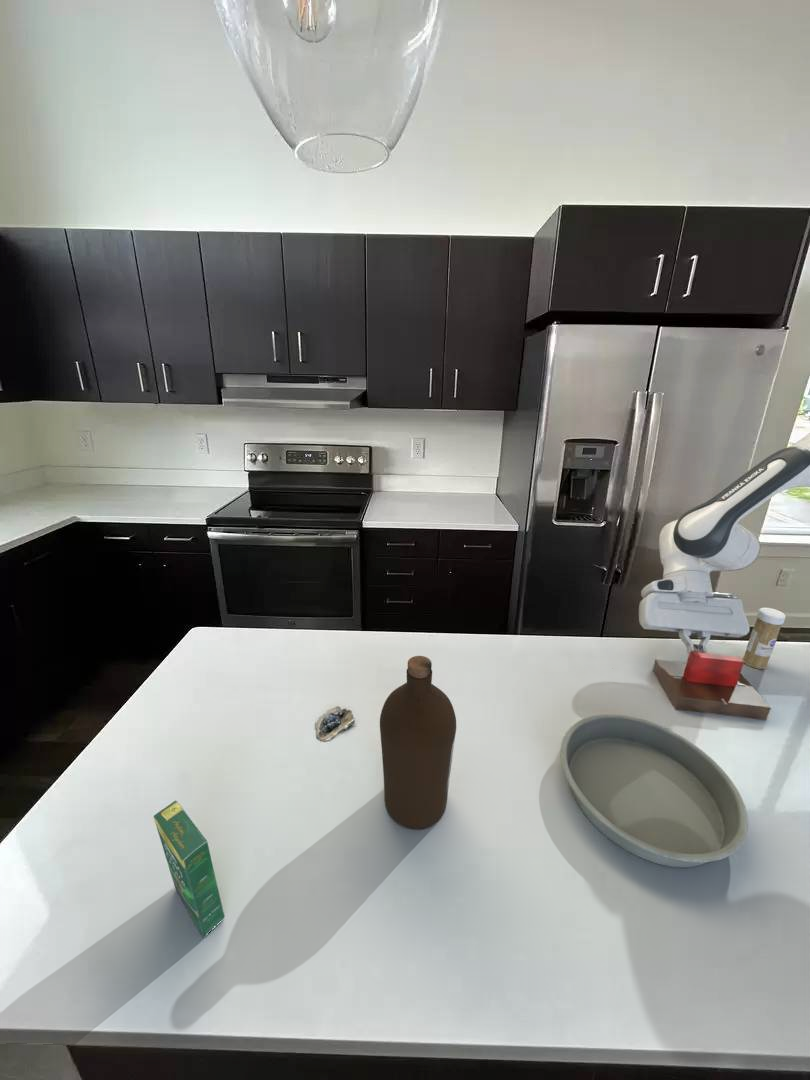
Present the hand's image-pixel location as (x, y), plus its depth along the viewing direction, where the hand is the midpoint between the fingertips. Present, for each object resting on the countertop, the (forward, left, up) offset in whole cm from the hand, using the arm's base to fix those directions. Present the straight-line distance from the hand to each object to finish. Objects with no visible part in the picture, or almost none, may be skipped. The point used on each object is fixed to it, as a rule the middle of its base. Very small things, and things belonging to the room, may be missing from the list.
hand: (697, 654), depth 88 cm
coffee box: (+77, +55, -8) cm, 95 cm away
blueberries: (+70, +25, -8) cm, 75 cm away
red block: (-2, +3, -4) cm, 5 cm away
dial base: (-2, +3, -7) cm, 8 cm away
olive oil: (+53, +37, -8) cm, 65 cm away
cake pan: (+19, +30, -8) cm, 36 cm away
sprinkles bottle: (-18, -10, -8) cm, 22 cm away
